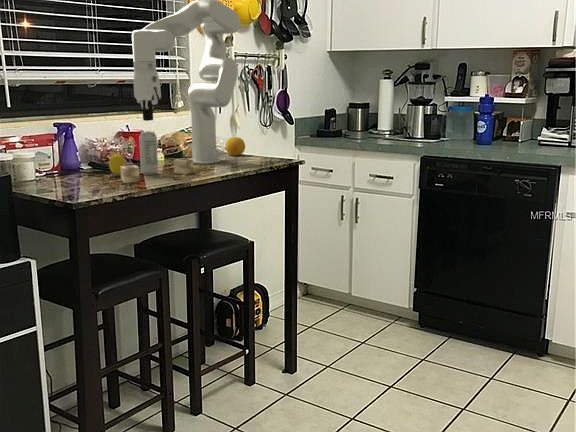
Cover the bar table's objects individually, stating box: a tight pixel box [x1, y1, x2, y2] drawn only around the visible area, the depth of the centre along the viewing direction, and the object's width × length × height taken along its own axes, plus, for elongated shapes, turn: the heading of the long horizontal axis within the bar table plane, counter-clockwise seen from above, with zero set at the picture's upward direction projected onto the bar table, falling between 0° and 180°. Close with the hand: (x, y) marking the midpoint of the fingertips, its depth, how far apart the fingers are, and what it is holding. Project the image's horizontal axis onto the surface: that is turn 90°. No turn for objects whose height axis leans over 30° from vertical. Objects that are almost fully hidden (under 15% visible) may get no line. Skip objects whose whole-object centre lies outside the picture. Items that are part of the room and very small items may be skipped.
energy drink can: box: [138, 130, 159, 176], centre depth 224 cm, size 6×6×15 cm
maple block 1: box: [120, 164, 141, 184], centre depth 211 cm, size 5×5×5 cm
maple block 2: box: [173, 157, 194, 175], centre depth 228 cm, size 5×5×5 cm
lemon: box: [108, 152, 126, 176], centre depth 221 cm, size 6×6×8 cm
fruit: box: [224, 136, 246, 157], centre depth 270 cm, size 9×8×8 cm
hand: (148, 120), depth 221 cm, fingers closed
